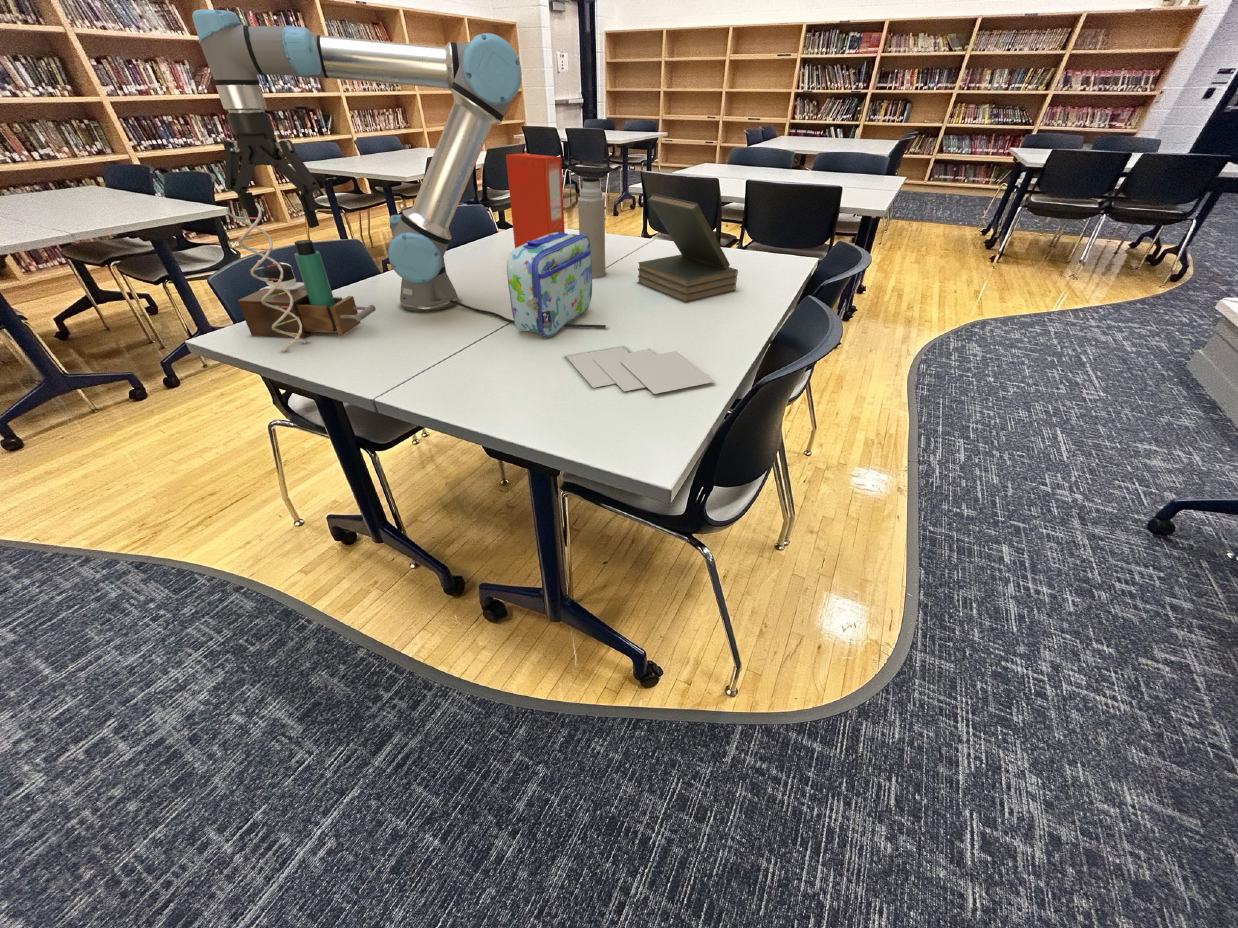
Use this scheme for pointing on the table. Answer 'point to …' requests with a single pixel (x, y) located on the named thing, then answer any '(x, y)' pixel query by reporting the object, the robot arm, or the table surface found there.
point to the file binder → (535, 196)
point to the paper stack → (639, 370)
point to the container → (288, 277)
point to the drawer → (342, 312)
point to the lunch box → (550, 282)
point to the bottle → (313, 274)
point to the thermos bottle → (593, 222)
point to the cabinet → (272, 313)
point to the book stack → (687, 255)
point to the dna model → (269, 278)
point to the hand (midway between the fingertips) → (285, 226)
